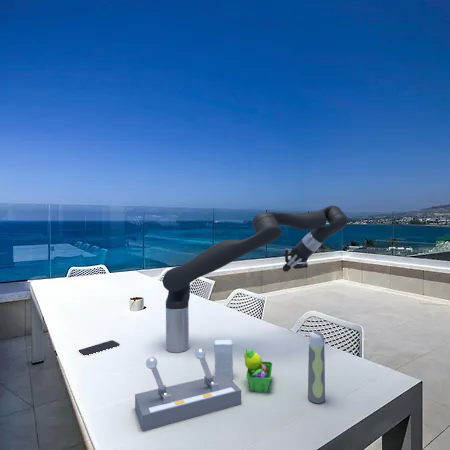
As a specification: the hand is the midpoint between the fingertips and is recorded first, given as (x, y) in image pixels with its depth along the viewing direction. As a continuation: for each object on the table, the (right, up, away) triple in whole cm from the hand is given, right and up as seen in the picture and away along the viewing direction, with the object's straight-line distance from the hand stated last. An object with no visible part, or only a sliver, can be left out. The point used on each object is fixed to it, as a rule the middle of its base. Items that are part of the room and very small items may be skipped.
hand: (284, 270), depth 149 cm
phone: (-79, -31, -15) cm, 86 cm away
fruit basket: (-17, -31, -45) cm, 57 cm away
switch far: (-31, -26, -54) cm, 67 cm away
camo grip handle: (0, -31, -54) cm, 62 cm away
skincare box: (-28, -31, -40) cm, 57 cm away
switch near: (-44, -26, -60) cm, 79 cm away
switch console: (-38, -31, -57) cm, 75 cm away
